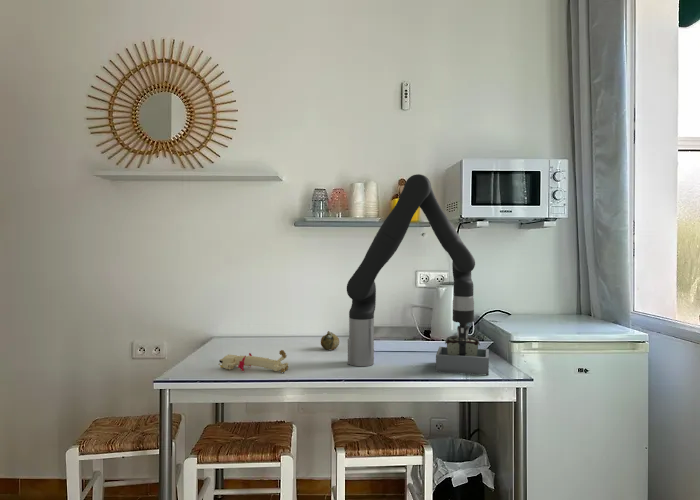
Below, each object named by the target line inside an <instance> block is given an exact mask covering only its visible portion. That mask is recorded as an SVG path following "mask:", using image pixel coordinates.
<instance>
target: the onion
mask: <svg viewBox="0 0 700 500" xmlns="http://www.w3.org/2000/svg"><path fill="white" fill-rule="evenodd" d="M320 345H321V347H322V349H323V350H326V351H333V350H335V349H337V348H338V347H339V345H340V339H339V337H338V335H336V334H335V333H333V332H331V331H329V330H328V331H327V332H326V334H325V335H323V336H322V337H321V338H320Z"/></svg>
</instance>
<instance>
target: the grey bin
mask: <svg viewBox="0 0 700 500" xmlns="http://www.w3.org/2000/svg"><path fill="white" fill-rule="evenodd" d="M489 355H490V351H489V348H478V352H477V357H473V356H455V355H448V352H447V346H439V347H438V350H437V351H436V354H435V372H436V373H445V374H447V373H450V374H460V373H465V375H476V374H486V375H485V376H489V371H490V370H489V367H490V365H489V363H490V358H489V357H490V356H489Z"/></svg>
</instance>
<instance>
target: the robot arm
mask: <svg viewBox="0 0 700 500" xmlns="http://www.w3.org/2000/svg"><path fill="white" fill-rule="evenodd" d="M419 208H420V210H421V211H422V212H423V214H424V215H425V217H426V219H427V221H428V223H429V225H430V227H431V229H432V231H433V233H434V235H435V236H436V239H437V240H438V242H439V243H440V245H441V247H442V248H443V250H444V251H445V252H446V253H447V254H448V256H449V258H450V259H451V261H452V262H451V265H452V277H453V288H452V289H453V296H452V297H453V298H452V321H453V322H455V323H459V325H457V327H456V329H457V330H456V331H457V335H458V340H459V342H458V344H459V355H460V356H465V355H466V340H467V339H468V336H469V330H470V329H469V328H470V326H468V324H470V323H471V324H472V323H473V322H475V321H474V320H475V300H474V299H475V298H474V282H473V280H472V271H473V270H474V269H475V267H476V260H475V258H474V256H473V254H472V253H471V251H470V250H469V248H468V247H467V246H466V245H465V244H464V242H463V241H462V238H461V237H460V235H459V233H458V232H457V230H456V228H455V227H454V225H453V224H452V222H451V220H450V219H449V218H448V216H447V215H446V213H445V212H444V211H443V208H442V207H441V205H440V203H439V202H438V200H437V198H436V195H435V193H434V190H433V188H432V182H431V181H430V180H429V178H428V177H427V176H425V175H424V174H419V173H418V174H412V175H411V176H409V177H408V178H407V179H406V181H405V183H404V186H403V188H402V191H401V193H400V196H399V198H398V200H397V202H396V203H395V206H394V207H393V209H391V211H390V212H389V214H388V215H387V217H386V218H385V219H384V221H383V223H382V224H381V226H380V227H379V229H378V231H377V232H376V234H375V236H374V237H373V239H372V242H371V244H369V245H370V246H369V248H368V249H367V251H366V253H365V256H364V258H363V259H362V262H360V264H359V266H358V267H357V269H356V270H355V272H354V273H353V274H352V276H351V277H350V278H349V280H348V281H347V284H346V293H347V295H348V297H349V298H350V299H351V306H350V308H349V312H348V320H349V321H348V333H349V334H348V338H347V365H349V364H350V366H355V367H368V366H373V365H374V363H375V311H376V305H377V304H376V303H377V285H376V282H375V280H376V278H377V276H378V274H379V273H380V271H381V270H382V269H383V267H384V266H385V265H386V264H387V263H388V262H389V261H390V260H391V258H392V257H393V256H394V254H395V253H396V252H397V250H398V249H399V247H400V245H401V243H402V241H403V239H404V238H405V236H406V234H407V231H408V229H409V227H410V224H411V222H412V219H413V218H414V216H415V214H416V213H417V211H418V209H419ZM460 340H464V341H460Z"/></svg>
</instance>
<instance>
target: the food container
mask: <svg viewBox="0 0 700 500" xmlns="http://www.w3.org/2000/svg"><path fill="white" fill-rule="evenodd" d="M460 341H464V340H460ZM458 342H459V340H458V334H457V335H451V336H447V337H446V339H445V341H444V345H446V347H447V352H448V355H455V356H460V355H459V344H458ZM479 346H481V343H480V341H479V338H477V337H474V336H471V335H468V339H467V340H466V355H465V356H473V357H477V352H478V349H479Z"/></svg>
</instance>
